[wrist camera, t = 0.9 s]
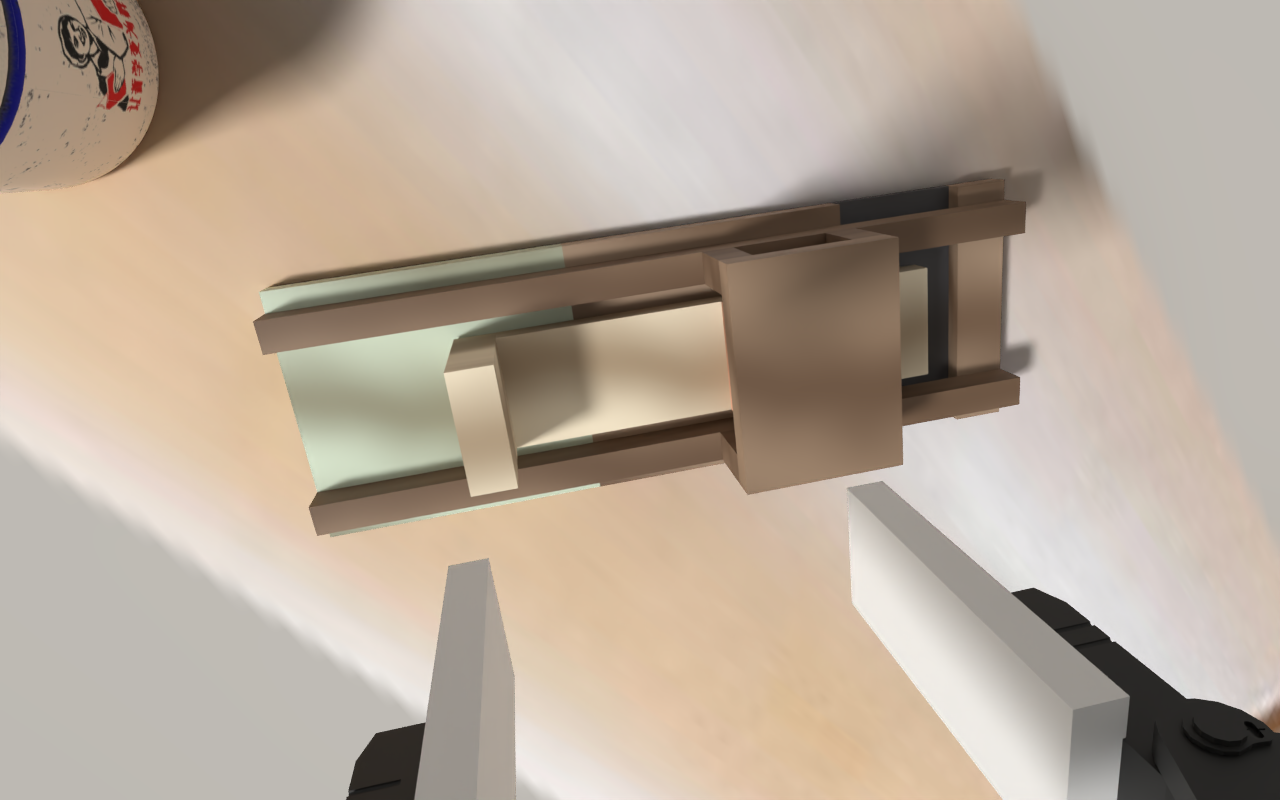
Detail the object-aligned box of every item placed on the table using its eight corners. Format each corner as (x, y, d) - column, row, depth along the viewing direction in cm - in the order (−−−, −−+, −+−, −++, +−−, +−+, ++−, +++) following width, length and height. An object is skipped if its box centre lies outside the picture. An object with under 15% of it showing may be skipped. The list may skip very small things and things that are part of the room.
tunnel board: (266, 287, 28) (210, 318, 23) (990, 178, 32) (1089, 183, 26) (335, 525, 32) (299, 602, 26) (985, 404, 35) (1073, 450, 29)
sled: (453, 339, 29) (443, 373, 24) (914, 264, 31) (983, 283, 26) (476, 446, 30) (470, 497, 26) (915, 367, 32) (981, 401, 28)
